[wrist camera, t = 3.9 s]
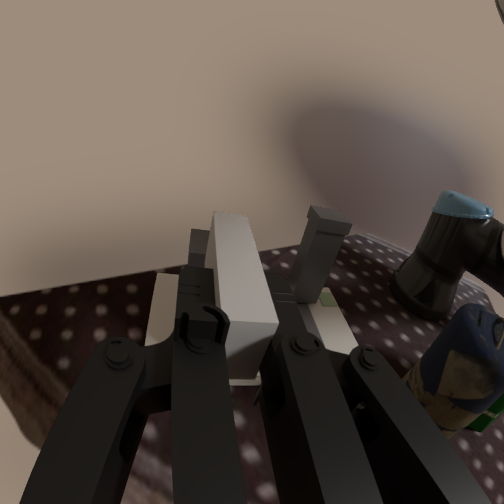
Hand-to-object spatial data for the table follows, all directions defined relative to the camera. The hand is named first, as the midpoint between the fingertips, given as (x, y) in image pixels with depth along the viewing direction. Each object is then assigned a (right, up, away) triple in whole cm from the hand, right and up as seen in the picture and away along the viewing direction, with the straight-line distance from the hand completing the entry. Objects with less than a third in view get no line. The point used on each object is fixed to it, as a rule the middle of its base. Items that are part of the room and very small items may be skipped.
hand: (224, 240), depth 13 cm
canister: (+18, -22, +12) cm, 31 cm away
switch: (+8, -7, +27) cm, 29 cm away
